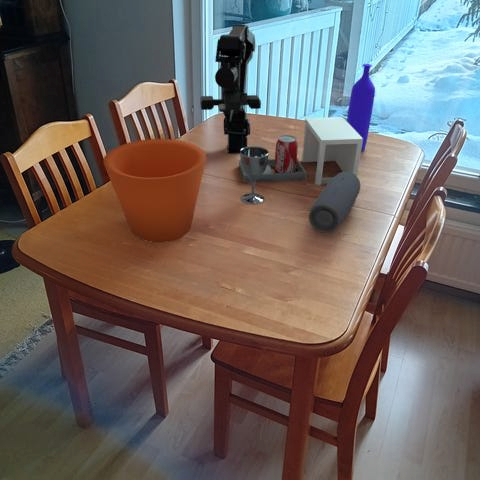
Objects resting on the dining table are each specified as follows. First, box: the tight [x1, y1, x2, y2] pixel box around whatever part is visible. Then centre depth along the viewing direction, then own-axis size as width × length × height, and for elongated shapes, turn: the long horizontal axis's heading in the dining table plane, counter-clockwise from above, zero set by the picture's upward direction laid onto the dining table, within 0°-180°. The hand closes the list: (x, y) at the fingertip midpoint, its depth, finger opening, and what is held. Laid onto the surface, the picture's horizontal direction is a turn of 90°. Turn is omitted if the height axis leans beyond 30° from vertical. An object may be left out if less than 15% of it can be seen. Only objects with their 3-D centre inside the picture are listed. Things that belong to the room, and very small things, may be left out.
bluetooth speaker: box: [308, 171, 361, 234], centre depth 132 cm, size 23×9×10 cm, turn 155°
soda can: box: [274, 134, 299, 173], centre depth 155 cm, size 7×7×12 cm
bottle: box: [346, 63, 376, 152], centre depth 170 cm, size 8×8×30 cm
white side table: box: [301, 116, 363, 186], centre depth 156 cm, size 13×20×15 cm, turn 8°
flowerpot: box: [102, 138, 207, 243], centre depth 123 cm, size 25×25×20 cm
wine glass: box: [239, 145, 269, 205], centre depth 138 cm, size 8×8×15 cm
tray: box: [238, 157, 307, 183], centre depth 157 cm, size 20×12×2 cm, turn 98°
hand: (230, 128), depth 155 cm, fingers closed
